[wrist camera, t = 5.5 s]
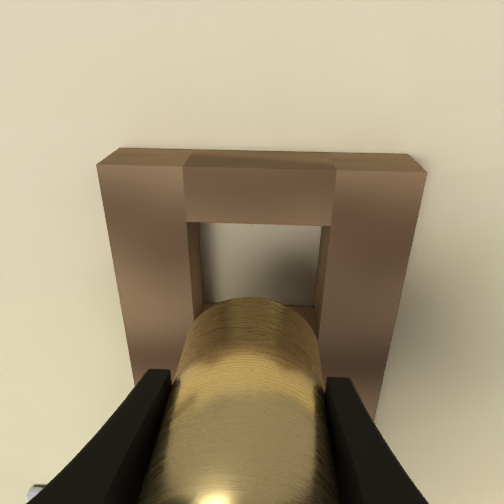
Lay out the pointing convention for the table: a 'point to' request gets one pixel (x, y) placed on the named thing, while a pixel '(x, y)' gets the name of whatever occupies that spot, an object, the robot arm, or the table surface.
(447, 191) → the table surface
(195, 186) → the frame
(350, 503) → the robot arm
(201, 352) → the brass peg
